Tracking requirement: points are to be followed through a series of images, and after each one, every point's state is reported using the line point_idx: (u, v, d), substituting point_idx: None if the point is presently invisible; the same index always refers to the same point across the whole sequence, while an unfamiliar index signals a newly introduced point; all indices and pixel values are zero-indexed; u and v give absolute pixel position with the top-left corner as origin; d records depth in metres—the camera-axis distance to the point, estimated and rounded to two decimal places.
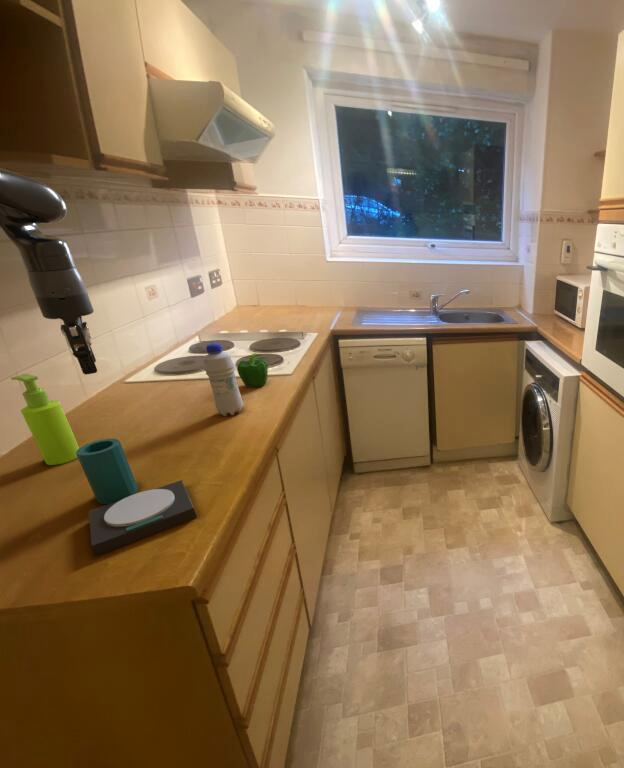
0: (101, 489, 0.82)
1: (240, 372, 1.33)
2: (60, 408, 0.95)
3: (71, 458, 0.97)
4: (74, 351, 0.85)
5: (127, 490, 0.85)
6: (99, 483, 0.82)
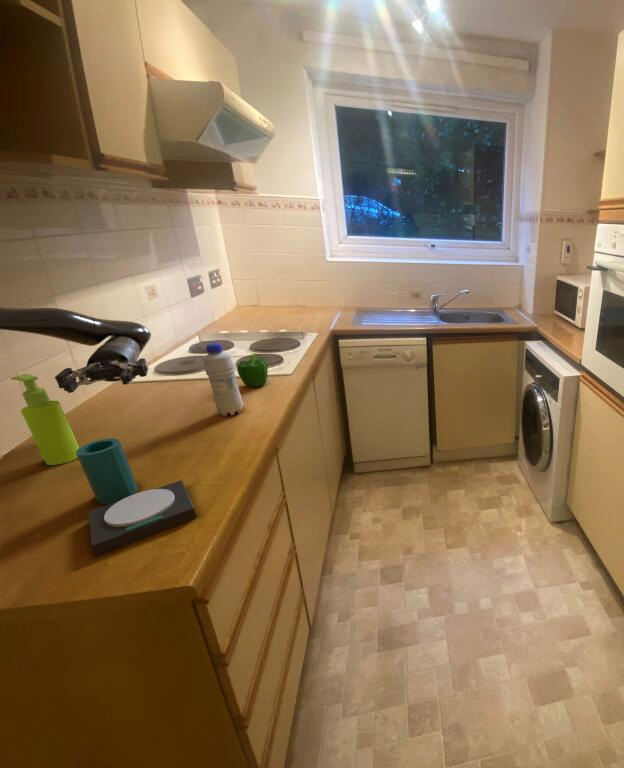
0: (101, 489, 0.82)
1: (240, 372, 1.33)
2: (60, 408, 0.95)
3: (71, 458, 0.97)
4: None
5: (127, 490, 0.85)
6: (99, 483, 0.82)
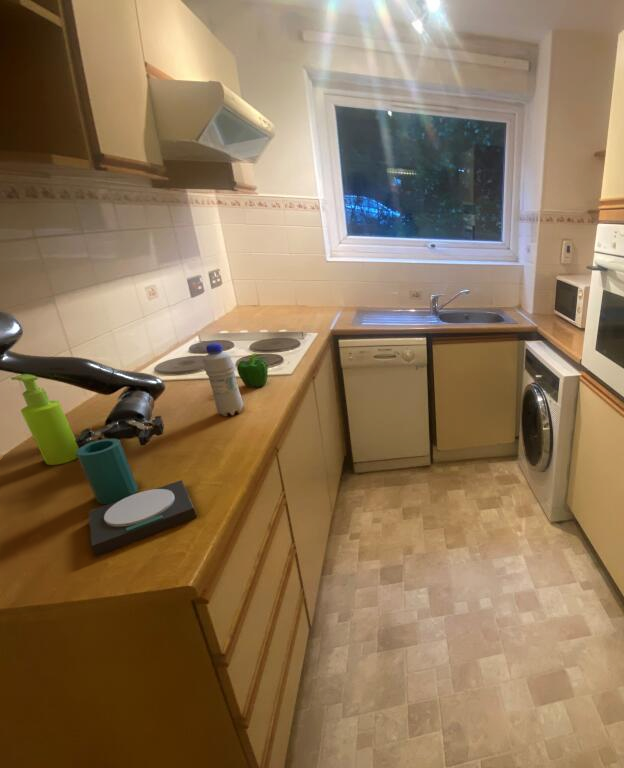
0: (101, 489, 0.82)
1: (240, 372, 1.33)
2: (60, 408, 0.95)
3: (71, 458, 0.97)
4: None
5: (127, 490, 0.85)
6: (99, 483, 0.82)
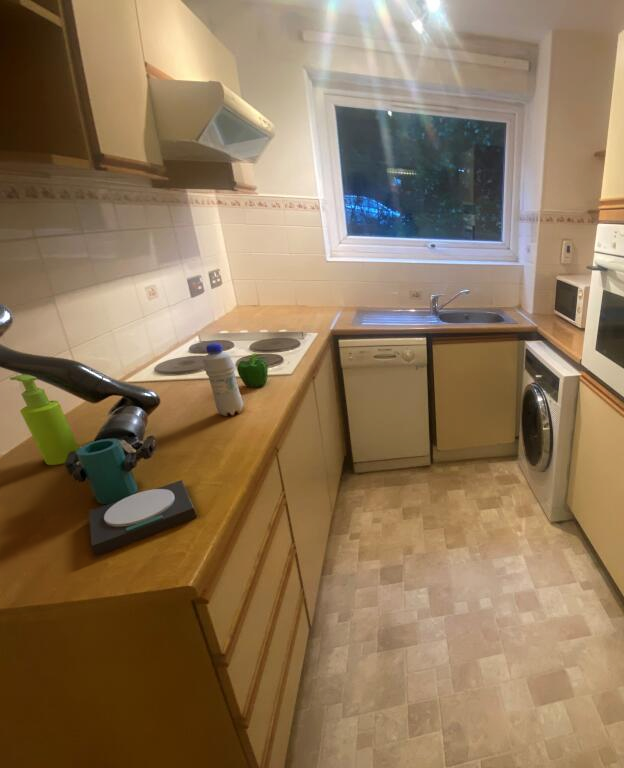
0: (101, 489, 0.82)
1: (240, 372, 1.33)
2: (59, 408, 0.95)
3: None
4: None
5: (127, 490, 0.85)
6: (99, 483, 0.82)
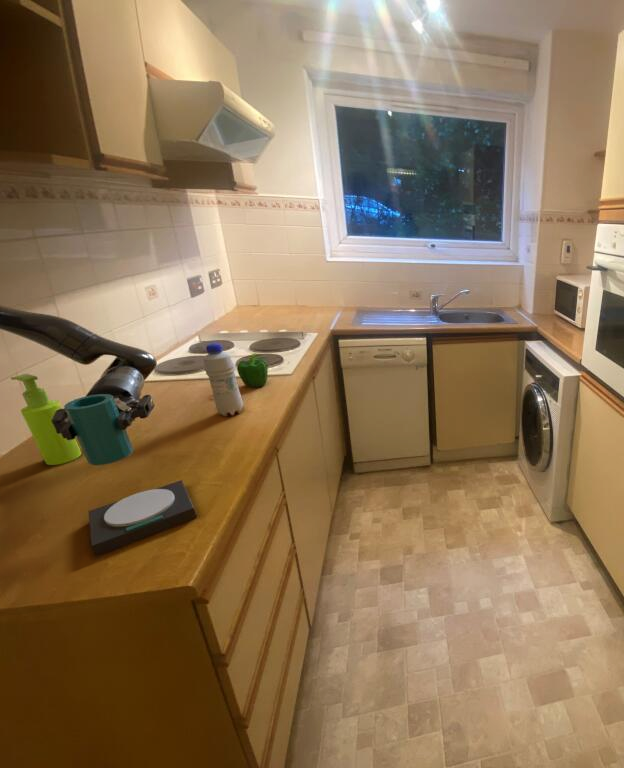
0: (92, 449, 0.75)
1: (240, 372, 1.33)
2: (60, 408, 0.95)
3: (71, 458, 0.97)
4: None
5: (121, 451, 0.78)
6: (90, 441, 0.74)
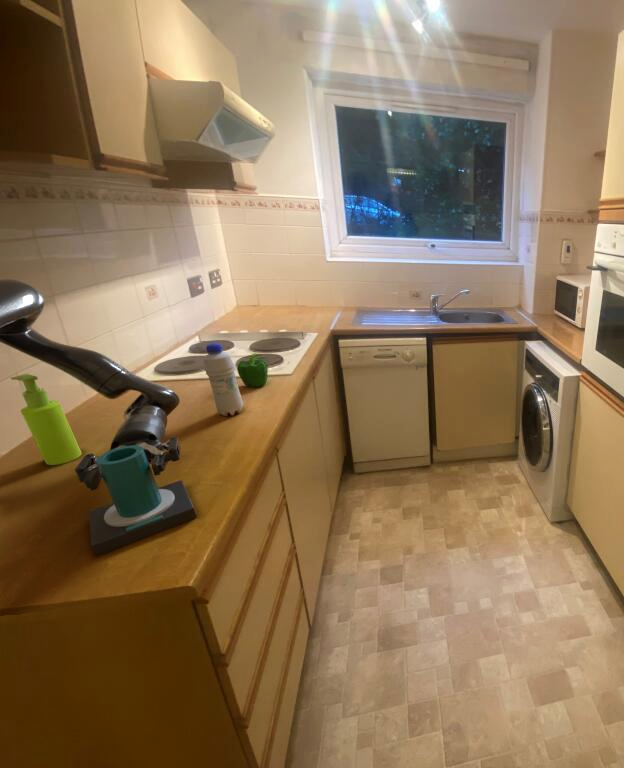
0: (123, 502, 0.75)
1: (240, 372, 1.33)
2: (60, 408, 0.95)
3: (71, 458, 0.97)
4: None
5: (151, 502, 0.78)
6: (122, 494, 0.74)
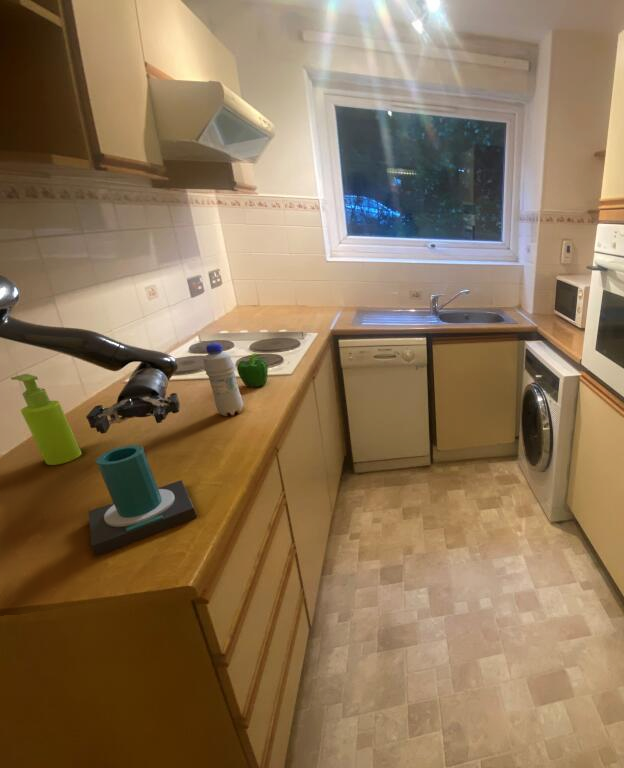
0: (123, 502, 0.75)
1: (240, 372, 1.33)
2: (60, 408, 0.95)
3: (71, 458, 0.97)
4: None
5: (151, 502, 0.78)
6: (122, 494, 0.74)
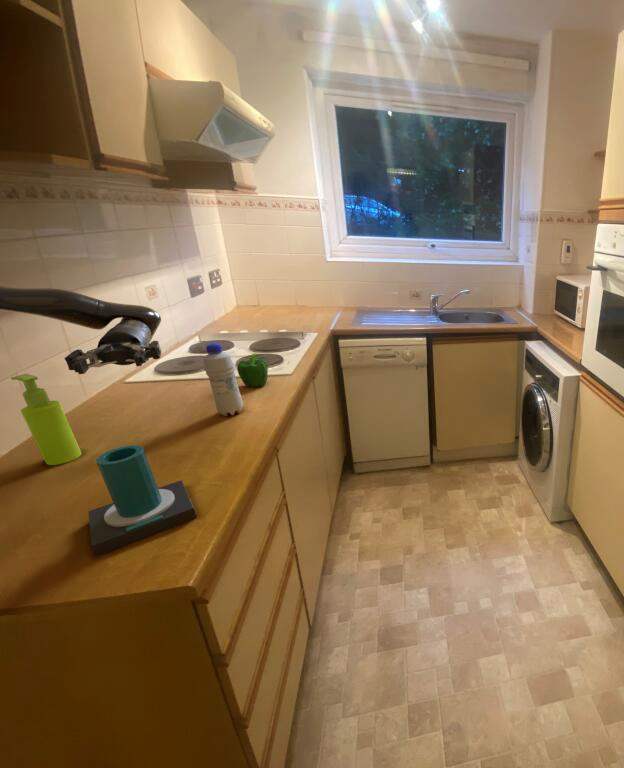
0: (123, 502, 0.75)
1: (240, 372, 1.33)
2: (60, 408, 0.95)
3: (71, 458, 0.97)
4: None
5: (151, 502, 0.78)
6: (122, 494, 0.74)
